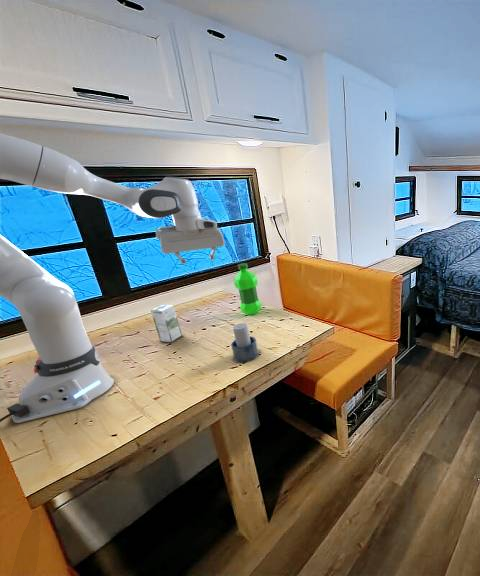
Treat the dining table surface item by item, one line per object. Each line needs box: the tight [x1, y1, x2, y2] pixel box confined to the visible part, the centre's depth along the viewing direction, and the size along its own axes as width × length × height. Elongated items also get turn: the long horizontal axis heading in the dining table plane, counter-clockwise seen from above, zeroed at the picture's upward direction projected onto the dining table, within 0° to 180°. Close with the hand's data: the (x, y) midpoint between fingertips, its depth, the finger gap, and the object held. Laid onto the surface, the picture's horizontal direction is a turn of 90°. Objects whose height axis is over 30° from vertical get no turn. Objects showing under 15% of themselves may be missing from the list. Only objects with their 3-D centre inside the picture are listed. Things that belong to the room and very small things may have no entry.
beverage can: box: [232, 323, 251, 347], centre depth 113 cm, size 5×5×12 cm
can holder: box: [230, 335, 259, 363], centre depth 114 cm, size 8×8×6 cm
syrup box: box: [150, 304, 183, 343], centre depth 127 cm, size 6×6×14 cm
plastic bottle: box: [233, 262, 262, 316], centre depth 147 cm, size 10×10×25 cm
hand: (198, 261), depth 115 cm, fingers open, 8 cm apart
